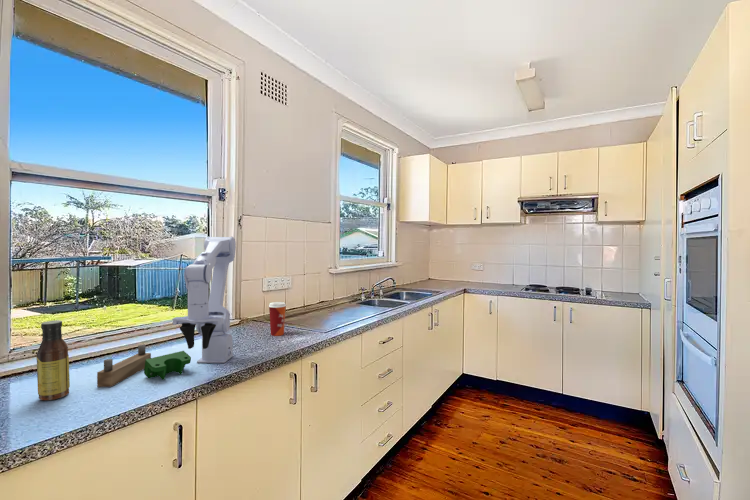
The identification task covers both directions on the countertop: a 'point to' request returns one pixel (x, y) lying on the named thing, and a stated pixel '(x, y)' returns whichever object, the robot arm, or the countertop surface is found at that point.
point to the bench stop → (122, 368)
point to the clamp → (166, 364)
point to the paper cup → (277, 318)
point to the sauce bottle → (52, 363)
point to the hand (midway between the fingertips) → (198, 347)
